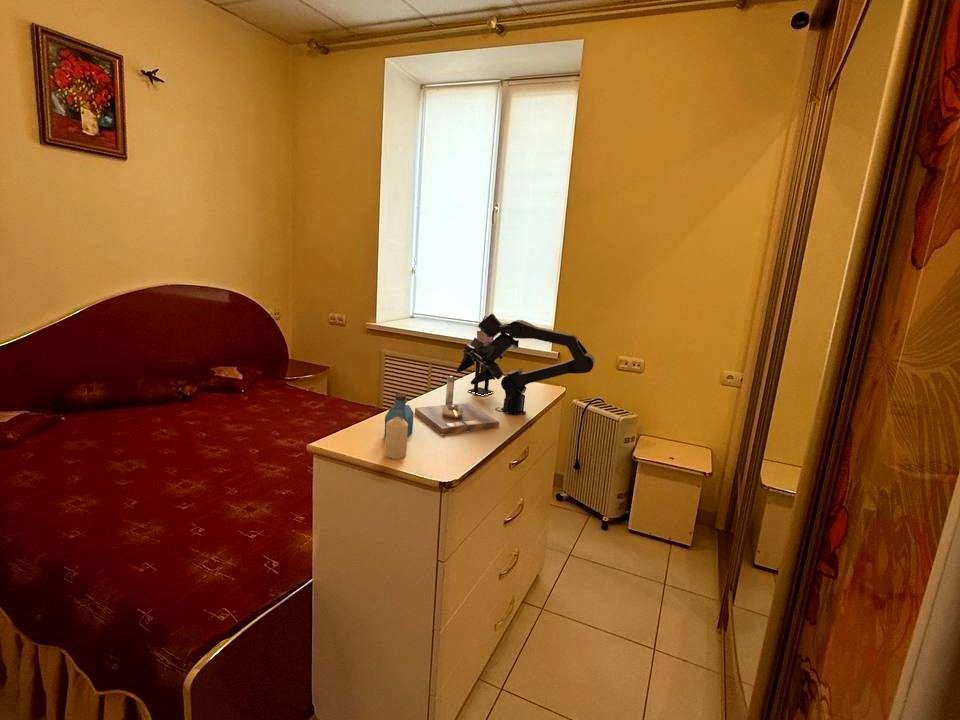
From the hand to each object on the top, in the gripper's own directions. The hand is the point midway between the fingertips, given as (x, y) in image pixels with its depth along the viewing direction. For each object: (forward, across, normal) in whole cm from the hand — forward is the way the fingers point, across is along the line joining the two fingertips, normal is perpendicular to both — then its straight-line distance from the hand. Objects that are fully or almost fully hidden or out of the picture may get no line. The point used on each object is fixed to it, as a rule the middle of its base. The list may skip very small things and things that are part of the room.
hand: (464, 377), depth 166 cm
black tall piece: (-5, -15, +24) cm, 29 cm away
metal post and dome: (+11, +9, 0) cm, 14 cm away
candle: (+32, +26, -18) cm, 45 cm away
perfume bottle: (+28, +14, -12) cm, 34 cm away
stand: (+12, +9, +3) cm, 15 cm away
